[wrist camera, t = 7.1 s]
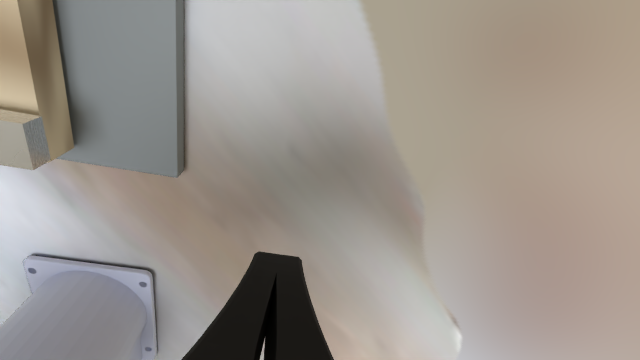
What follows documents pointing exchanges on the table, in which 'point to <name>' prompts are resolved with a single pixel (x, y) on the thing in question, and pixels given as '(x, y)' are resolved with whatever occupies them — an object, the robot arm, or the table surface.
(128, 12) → the slate board
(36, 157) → the steel keeper
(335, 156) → the table surface
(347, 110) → the table surface
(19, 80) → the beech link
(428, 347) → the table surface
